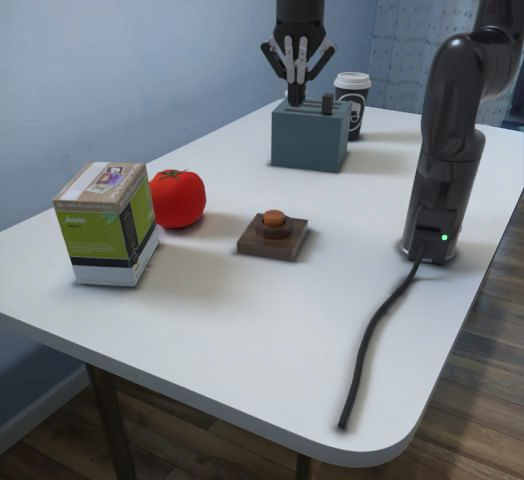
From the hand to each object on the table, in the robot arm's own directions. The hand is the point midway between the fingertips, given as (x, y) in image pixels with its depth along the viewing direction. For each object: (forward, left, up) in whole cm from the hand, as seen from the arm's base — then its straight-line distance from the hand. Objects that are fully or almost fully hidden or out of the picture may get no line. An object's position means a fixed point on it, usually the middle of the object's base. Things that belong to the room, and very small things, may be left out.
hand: (296, 106), depth 86 cm
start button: (-12, 0, -16) cm, 20 cm away
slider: (+27, -1, -8) cm, 28 cm away
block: (-12, 0, -20) cm, 23 cm away
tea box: (-27, +23, -20) cm, 41 cm away
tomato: (-10, +20, -20) cm, 30 cm away
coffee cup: (+50, -3, -20) cm, 54 cm away
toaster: (+31, +3, -20) cm, 37 cm away
